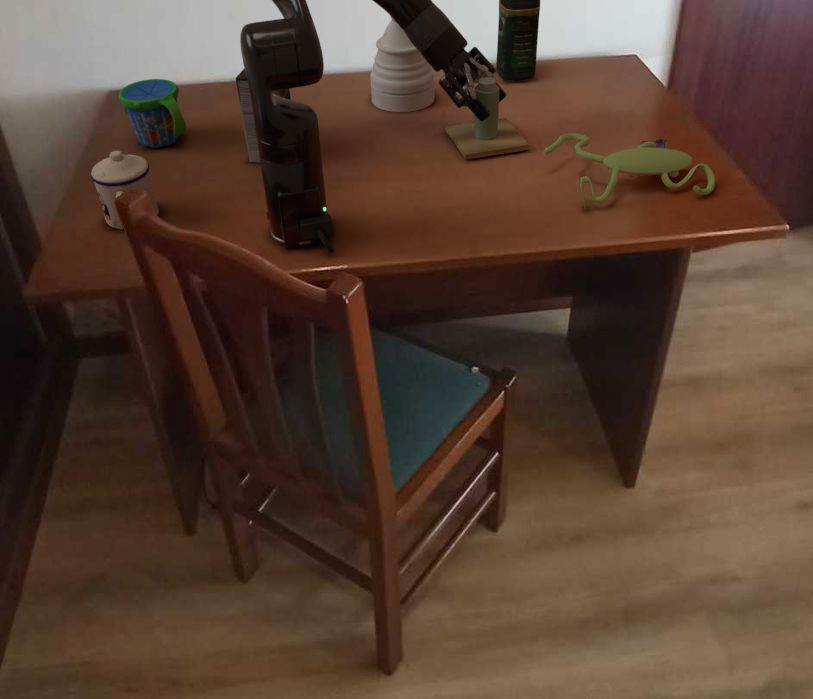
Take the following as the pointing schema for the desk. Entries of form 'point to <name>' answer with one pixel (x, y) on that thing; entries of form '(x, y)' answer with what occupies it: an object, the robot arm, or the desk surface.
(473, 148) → the plate
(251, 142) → the coffee box
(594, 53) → the desk surface
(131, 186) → the teacup with lid
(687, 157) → the figurine
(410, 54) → the honey pot
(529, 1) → the coffee jar
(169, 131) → the snack cup
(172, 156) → the desk surface
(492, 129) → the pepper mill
